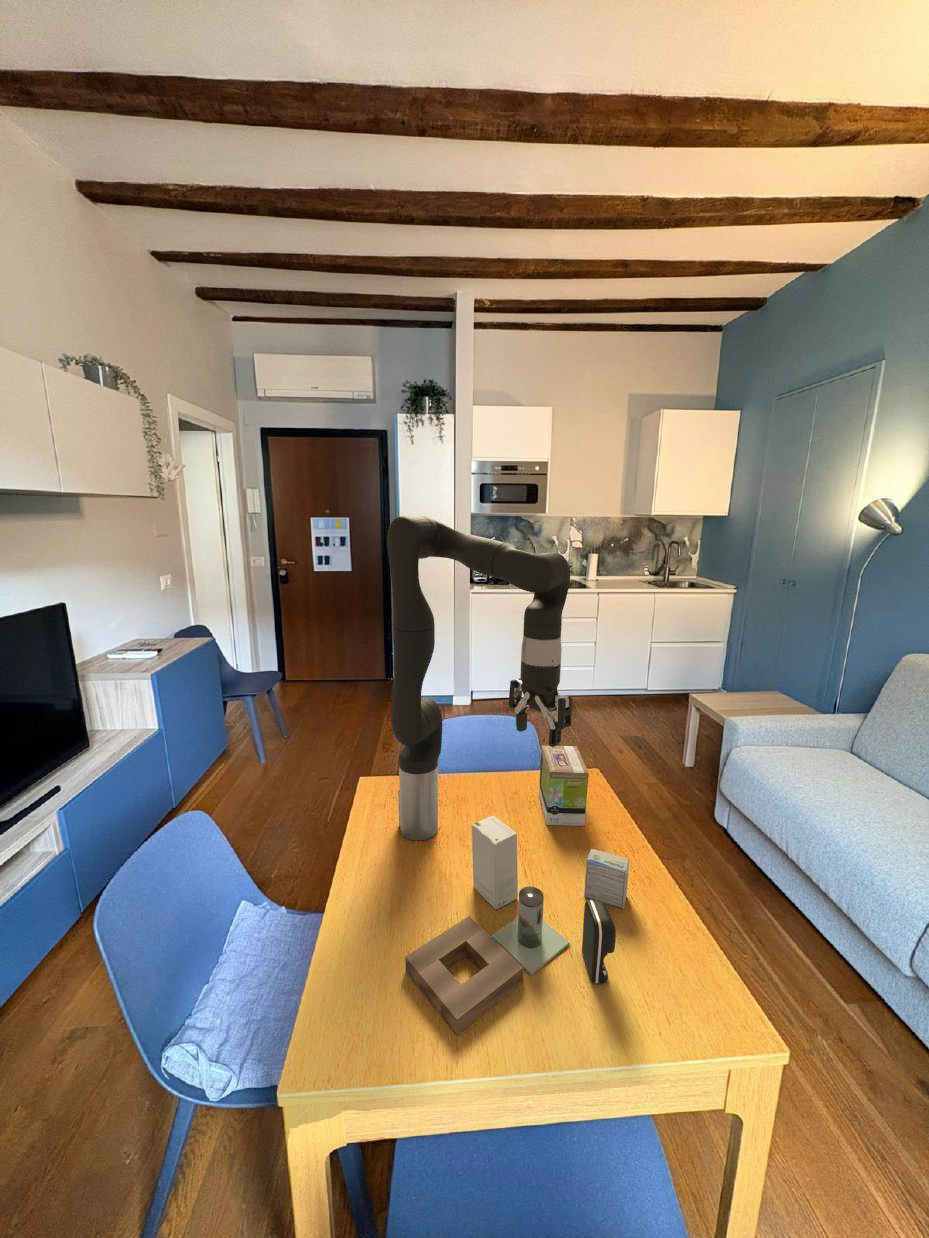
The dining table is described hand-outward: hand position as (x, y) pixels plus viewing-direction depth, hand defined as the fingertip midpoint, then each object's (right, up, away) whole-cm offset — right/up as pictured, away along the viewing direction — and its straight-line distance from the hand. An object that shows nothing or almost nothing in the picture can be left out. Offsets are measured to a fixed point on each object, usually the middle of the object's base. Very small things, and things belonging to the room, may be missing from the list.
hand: (537, 737), depth 100 cm
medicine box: (+14, -33, +4) cm, 36 cm away
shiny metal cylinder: (-2, -35, -7) cm, 36 cm away
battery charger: (+8, -37, -13) cm, 40 cm away
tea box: (+11, -27, +34) cm, 45 cm away
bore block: (-14, -37, -15) cm, 42 cm away
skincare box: (-8, -33, +4) cm, 34 cm away
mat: (-2, -35, -7) cm, 36 cm away
